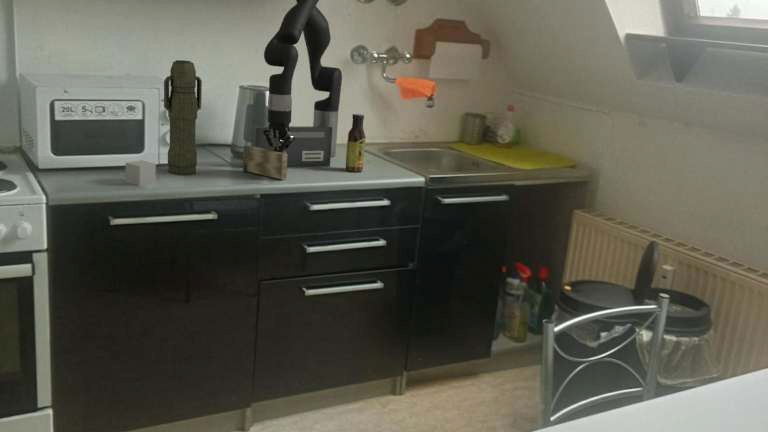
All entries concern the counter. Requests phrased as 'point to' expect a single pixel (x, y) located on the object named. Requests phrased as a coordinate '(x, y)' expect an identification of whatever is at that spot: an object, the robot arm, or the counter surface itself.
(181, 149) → the thermos
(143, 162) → the light grey cube
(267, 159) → the wooden block
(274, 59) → the robot arm
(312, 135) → the panel
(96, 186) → the counter surface
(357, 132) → the sauce bottle
